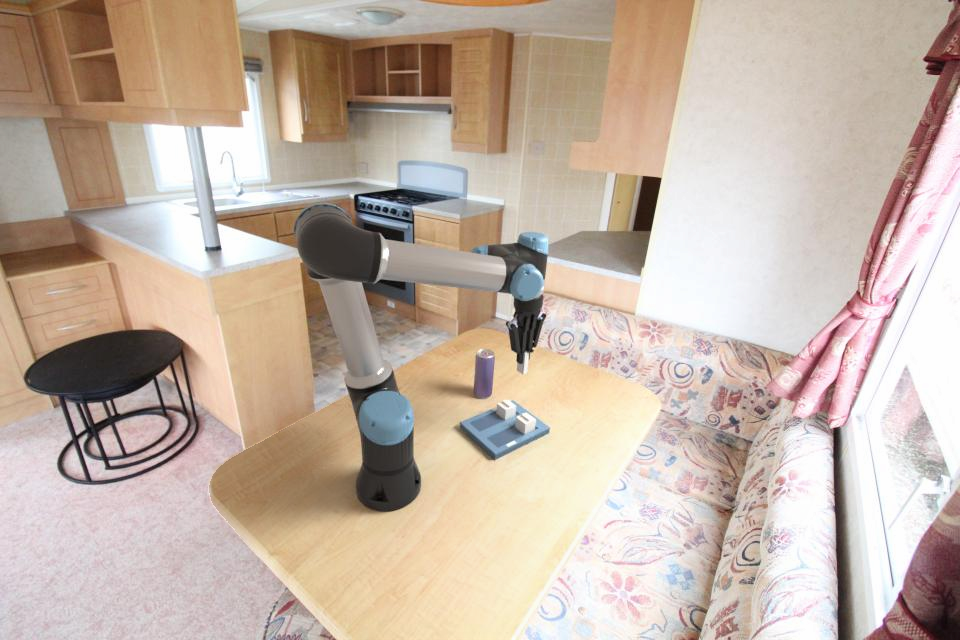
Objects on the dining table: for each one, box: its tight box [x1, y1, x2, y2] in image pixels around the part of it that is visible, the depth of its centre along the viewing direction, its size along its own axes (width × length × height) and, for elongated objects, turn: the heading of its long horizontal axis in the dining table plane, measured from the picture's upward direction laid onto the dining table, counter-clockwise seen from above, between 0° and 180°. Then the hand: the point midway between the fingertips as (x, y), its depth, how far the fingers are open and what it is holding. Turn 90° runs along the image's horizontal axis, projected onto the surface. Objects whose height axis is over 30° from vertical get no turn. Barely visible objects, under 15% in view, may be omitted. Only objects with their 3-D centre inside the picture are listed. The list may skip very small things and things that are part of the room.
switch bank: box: [459, 399, 551, 461], centre depth 132 cm, size 20×16×2 cm
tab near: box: [515, 412, 536, 435], centre depth 130 cm, size 4×4×4 cm
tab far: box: [496, 398, 516, 420], centre depth 136 cm, size 4×4×4 cm
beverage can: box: [473, 348, 496, 400], centre depth 145 cm, size 6×6×15 cm
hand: (522, 371), depth 129 cm, fingers closed
